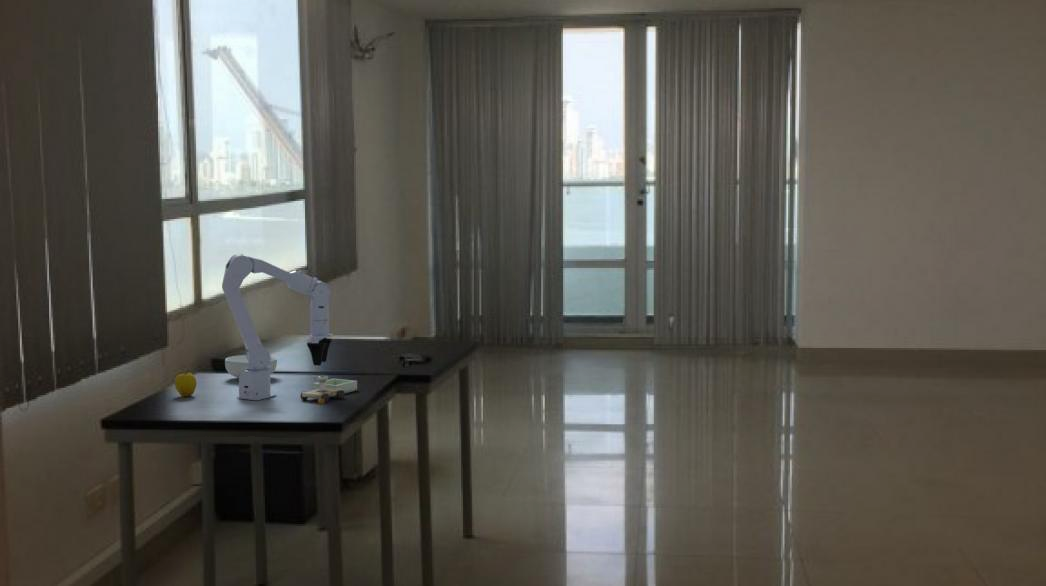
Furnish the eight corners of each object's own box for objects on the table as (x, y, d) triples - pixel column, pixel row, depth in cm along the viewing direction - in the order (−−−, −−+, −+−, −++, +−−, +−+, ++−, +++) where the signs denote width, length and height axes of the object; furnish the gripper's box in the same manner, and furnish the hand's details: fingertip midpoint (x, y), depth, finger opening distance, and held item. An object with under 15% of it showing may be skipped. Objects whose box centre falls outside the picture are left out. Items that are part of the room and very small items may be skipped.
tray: (336, 395, 365) (336, 385, 364) (312, 392, 369) (312, 383, 368) (357, 390, 374) (357, 380, 374) (334, 387, 378) (334, 378, 378)
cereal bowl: (230, 384, 384) (229, 362, 383) (221, 376, 399) (220, 356, 398) (282, 381, 391) (281, 360, 390) (271, 374, 406) (271, 353, 405)
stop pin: (323, 400, 356) (323, 377, 355) (315, 399, 357) (315, 376, 356) (330, 398, 358) (330, 376, 358) (321, 397, 360) (321, 375, 359)
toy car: (321, 403, 350) (321, 395, 350) (297, 401, 354) (297, 392, 354) (345, 397, 361) (345, 389, 360) (322, 395, 365) (322, 386, 364)
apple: (196, 394, 365) (195, 368, 364) (197, 397, 359) (196, 371, 358) (174, 395, 363) (174, 369, 362) (175, 398, 357) (174, 372, 356)
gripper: (327, 322, 357) (327, 367, 358) (337, 317, 372) (337, 360, 373) (304, 322, 357) (304, 366, 359) (314, 317, 372) (315, 360, 373)
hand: (319, 363), depth 366 cm, fingers open, 7 cm apart
